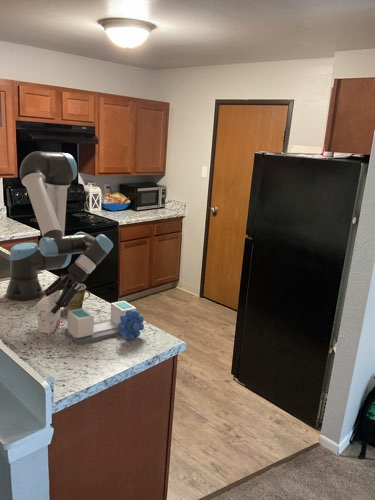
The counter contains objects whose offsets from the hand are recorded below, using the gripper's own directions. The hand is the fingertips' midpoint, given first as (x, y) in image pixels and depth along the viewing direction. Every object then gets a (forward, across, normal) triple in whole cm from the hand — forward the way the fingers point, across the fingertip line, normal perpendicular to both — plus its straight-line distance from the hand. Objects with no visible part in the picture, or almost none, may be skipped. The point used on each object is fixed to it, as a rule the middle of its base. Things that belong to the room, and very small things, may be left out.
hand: (40, 314), depth 157 cm
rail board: (-9, -12, -18) cm, 24 cm away
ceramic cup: (-10, +13, -19) cm, 25 cm away
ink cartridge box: (+2, 0, -7) cm, 7 cm away
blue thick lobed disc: (-13, -24, -22) cm, 35 cm away
